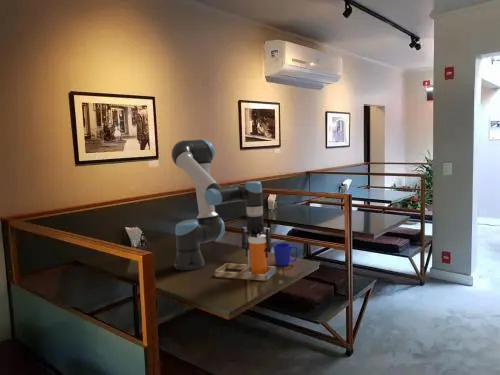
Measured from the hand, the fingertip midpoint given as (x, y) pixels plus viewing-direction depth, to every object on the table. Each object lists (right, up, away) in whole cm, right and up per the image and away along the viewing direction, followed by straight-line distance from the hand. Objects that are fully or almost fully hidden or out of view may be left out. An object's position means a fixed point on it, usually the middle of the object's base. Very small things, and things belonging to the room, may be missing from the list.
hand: (257, 263), depth 193 cm
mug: (+15, -3, +14) cm, 21 cm away
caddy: (-6, -5, +3) cm, 8 cm away
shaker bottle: (+1, -5, 0) cm, 5 cm away
